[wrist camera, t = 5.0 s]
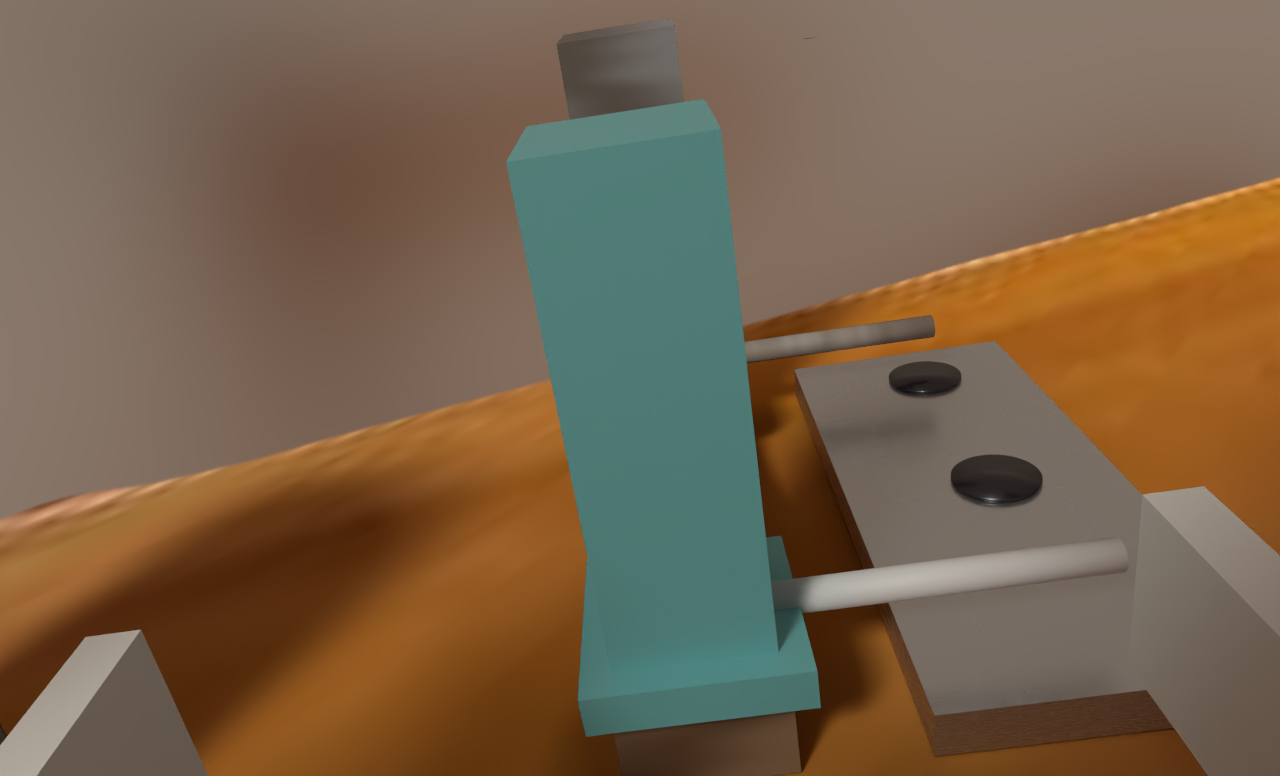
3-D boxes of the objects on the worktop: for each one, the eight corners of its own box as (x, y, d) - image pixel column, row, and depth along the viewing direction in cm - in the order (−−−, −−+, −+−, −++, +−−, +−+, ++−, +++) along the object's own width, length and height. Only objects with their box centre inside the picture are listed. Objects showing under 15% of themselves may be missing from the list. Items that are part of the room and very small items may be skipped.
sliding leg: (1070, 530, 24) (1094, 33, 19) (1174, 664, 20) (1241, 57, 15) (593, 592, 25) (496, 126, 20) (585, 736, 20) (458, 177, 15)
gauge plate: (995, 368, 38) (995, 337, 38) (1301, 712, 21) (1310, 664, 20) (796, 396, 38) (793, 366, 38) (935, 756, 21) (934, 710, 21)
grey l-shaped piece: (915, 379, 38) (903, -21, 32) (1153, 730, 21) (1228, 6, 15) (613, 421, 39) (545, 36, 33) (603, 795, 22) (453, 127, 15)
